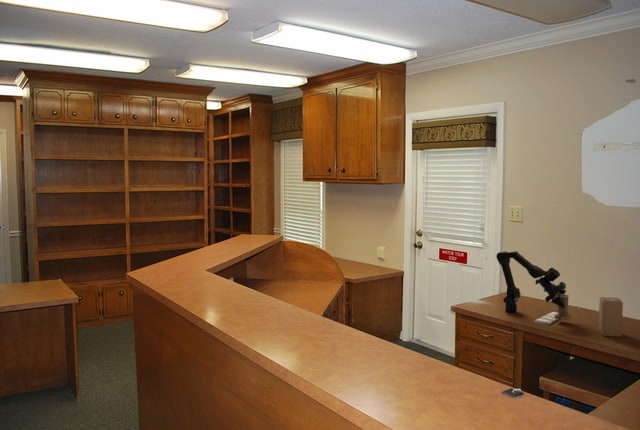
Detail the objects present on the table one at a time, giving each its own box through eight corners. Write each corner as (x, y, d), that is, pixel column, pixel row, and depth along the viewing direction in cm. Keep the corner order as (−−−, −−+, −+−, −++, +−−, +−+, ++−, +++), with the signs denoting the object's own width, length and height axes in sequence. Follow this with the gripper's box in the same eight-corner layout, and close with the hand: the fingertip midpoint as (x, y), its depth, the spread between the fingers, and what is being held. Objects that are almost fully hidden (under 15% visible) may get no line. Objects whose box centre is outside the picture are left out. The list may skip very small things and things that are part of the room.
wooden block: (618, 332, 292) (619, 297, 290) (622, 337, 282) (623, 301, 281) (598, 330, 295) (599, 296, 293) (601, 336, 286) (602, 300, 284)
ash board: (548, 325, 307) (548, 322, 307) (534, 322, 313) (534, 320, 313) (565, 316, 325) (565, 314, 325) (552, 313, 331) (552, 311, 331)
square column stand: (554, 318, 311) (555, 295, 310) (559, 315, 316) (560, 293, 315) (566, 320, 306) (567, 297, 305) (571, 318, 311) (572, 295, 310)
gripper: (550, 280, 305) (569, 302, 298) (563, 275, 318) (581, 296, 311) (537, 291, 312) (555, 312, 305) (550, 286, 325) (567, 306, 318)
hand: (565, 306), depth 309 cm, fingers closed on square column stand, 4 cm apart
